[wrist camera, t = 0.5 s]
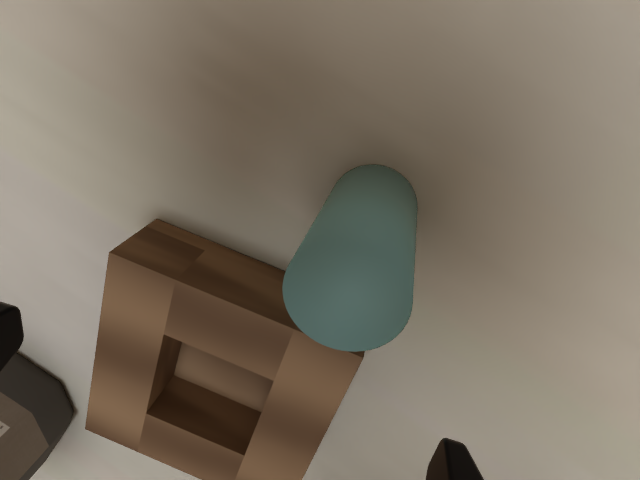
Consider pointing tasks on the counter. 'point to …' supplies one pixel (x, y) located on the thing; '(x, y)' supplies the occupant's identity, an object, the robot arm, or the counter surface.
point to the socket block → (209, 362)
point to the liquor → (29, 418)
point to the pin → (356, 263)
